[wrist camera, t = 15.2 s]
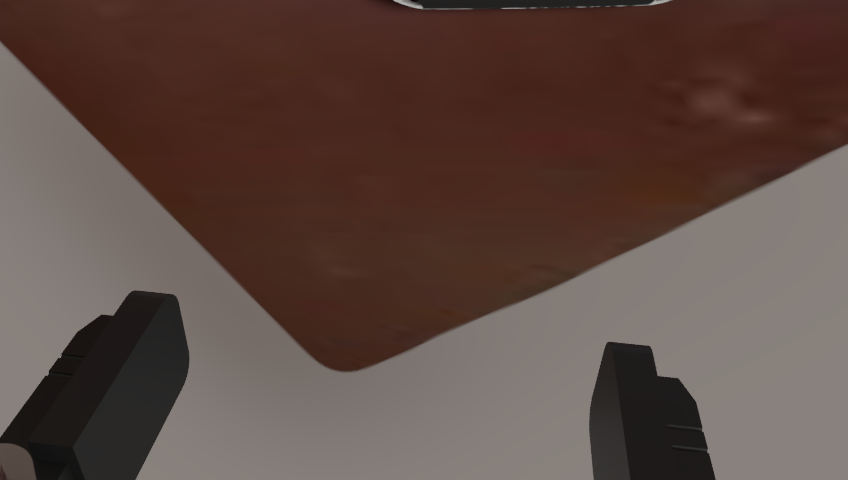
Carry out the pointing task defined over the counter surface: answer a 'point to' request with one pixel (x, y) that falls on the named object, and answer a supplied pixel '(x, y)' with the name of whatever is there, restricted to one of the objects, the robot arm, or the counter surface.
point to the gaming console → (521, 3)
